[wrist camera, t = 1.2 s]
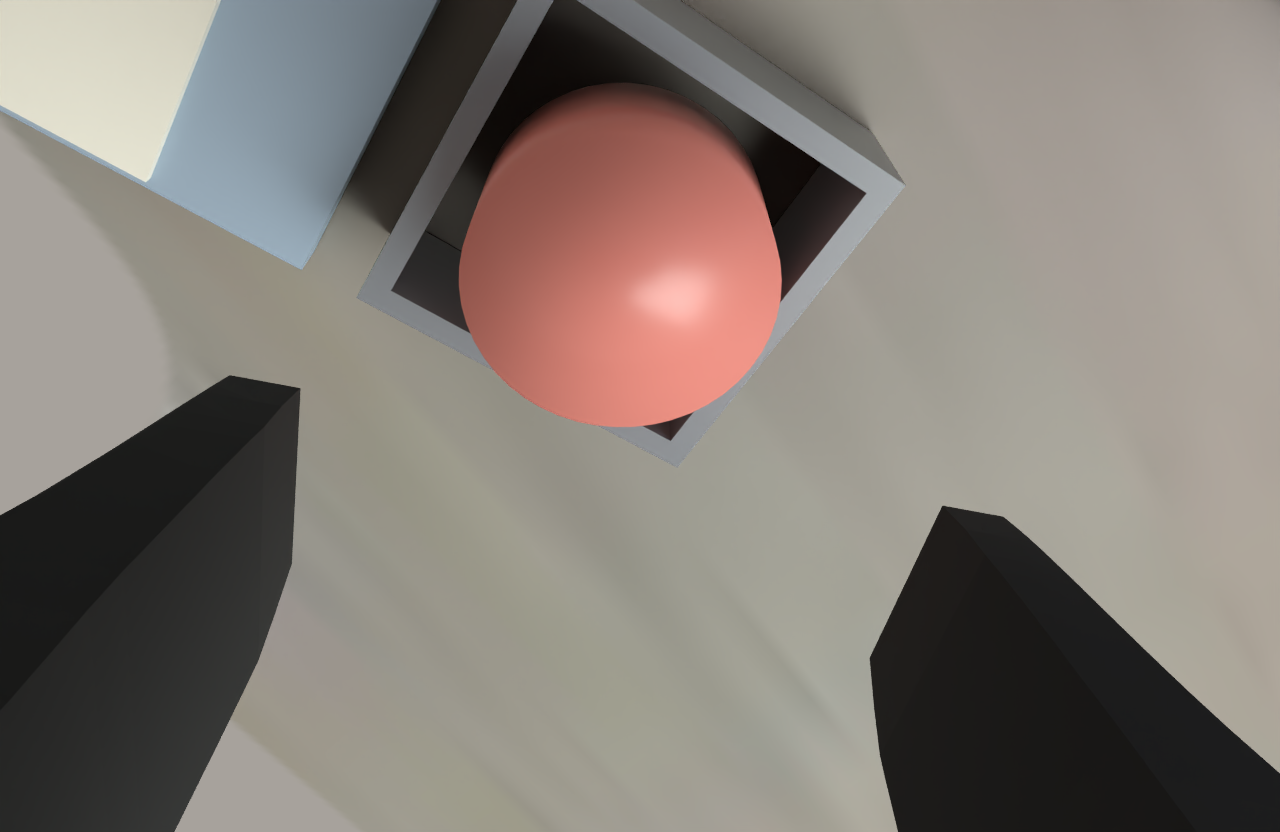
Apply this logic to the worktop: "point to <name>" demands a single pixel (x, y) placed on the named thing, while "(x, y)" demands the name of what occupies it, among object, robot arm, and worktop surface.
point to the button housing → (656, 17)
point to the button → (621, 258)
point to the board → (216, 98)
